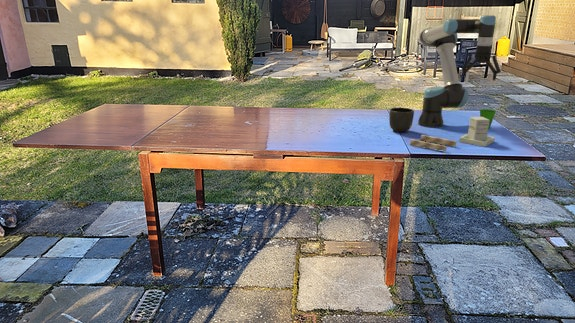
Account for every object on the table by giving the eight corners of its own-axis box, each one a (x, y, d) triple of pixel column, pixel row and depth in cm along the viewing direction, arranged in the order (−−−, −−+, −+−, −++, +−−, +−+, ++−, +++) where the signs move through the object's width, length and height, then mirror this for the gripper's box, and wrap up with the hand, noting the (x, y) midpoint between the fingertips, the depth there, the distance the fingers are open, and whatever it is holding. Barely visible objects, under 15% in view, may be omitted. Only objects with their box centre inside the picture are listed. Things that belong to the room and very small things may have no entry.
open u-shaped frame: (410, 145, 226) (410, 139, 225) (421, 140, 235) (422, 134, 234) (444, 152, 214) (445, 146, 213) (455, 146, 223) (456, 141, 222)
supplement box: (466, 139, 235) (469, 116, 231) (479, 138, 236) (483, 116, 232) (473, 142, 228) (476, 119, 224) (486, 142, 229) (490, 119, 225)
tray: (458, 141, 232) (459, 137, 231) (468, 136, 241) (469, 132, 241) (485, 147, 223) (485, 142, 222) (494, 141, 232) (495, 137, 232)
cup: (494, 130, 254) (497, 112, 251) (478, 130, 256) (481, 112, 253) (491, 127, 263) (493, 109, 259) (475, 126, 265) (478, 109, 261)
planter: (413, 129, 257) (415, 108, 253) (409, 135, 245) (412, 113, 241) (390, 127, 262) (392, 106, 258) (385, 132, 250) (387, 111, 246)
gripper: (458, 44, 236) (454, 83, 243) (506, 46, 220) (499, 87, 227) (464, 44, 241) (459, 81, 248) (511, 46, 225) (504, 86, 232)
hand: (478, 84), depth 238 cm, fingers open, 13 cm apart
